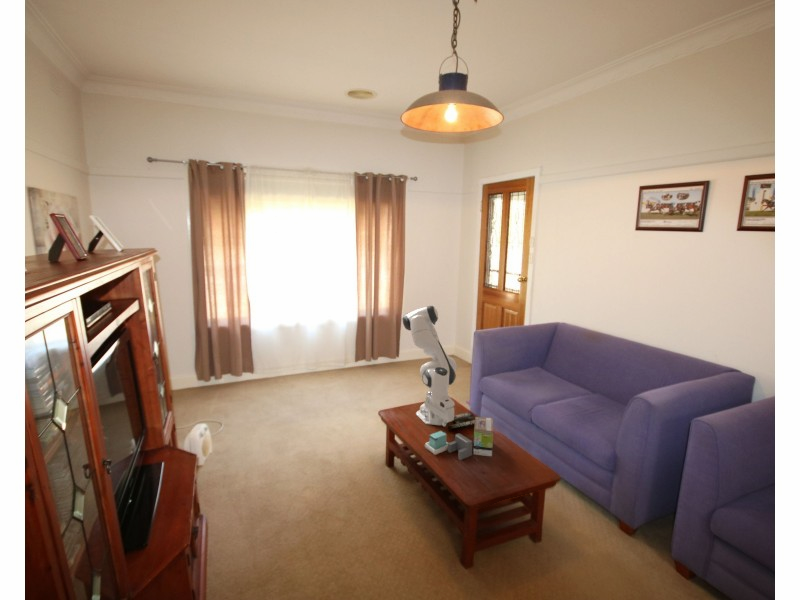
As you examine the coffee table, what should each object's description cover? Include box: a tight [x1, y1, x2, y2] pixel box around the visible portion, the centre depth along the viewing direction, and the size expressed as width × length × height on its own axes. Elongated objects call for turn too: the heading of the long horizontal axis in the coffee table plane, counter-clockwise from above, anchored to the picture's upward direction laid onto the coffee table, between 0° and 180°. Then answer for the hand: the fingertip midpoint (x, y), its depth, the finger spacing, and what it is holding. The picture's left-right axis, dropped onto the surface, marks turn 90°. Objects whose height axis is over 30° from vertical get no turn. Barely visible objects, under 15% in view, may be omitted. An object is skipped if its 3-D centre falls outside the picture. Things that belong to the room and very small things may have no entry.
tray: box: [424, 441, 449, 455], centre depth 215 cm, size 9×11×2 cm
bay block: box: [447, 433, 473, 461], centre depth 210 cm, size 10×8×8 cm
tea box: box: [472, 416, 495, 457], centre depth 214 cm, size 15×10×15 cm, turn 168°
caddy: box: [428, 430, 447, 450], centre depth 215 cm, size 5×8×7 cm, turn 125°
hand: (438, 421), depth 213 cm, fingers open, 8 cm apart
